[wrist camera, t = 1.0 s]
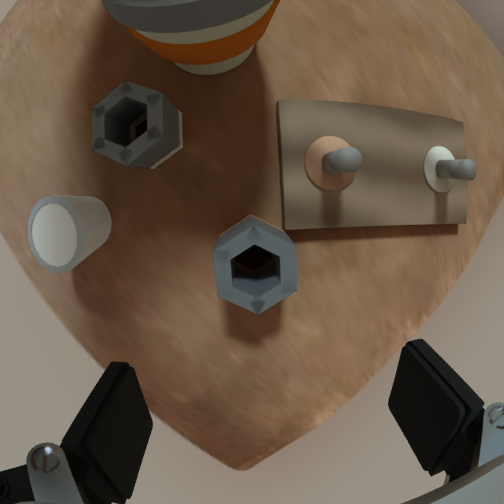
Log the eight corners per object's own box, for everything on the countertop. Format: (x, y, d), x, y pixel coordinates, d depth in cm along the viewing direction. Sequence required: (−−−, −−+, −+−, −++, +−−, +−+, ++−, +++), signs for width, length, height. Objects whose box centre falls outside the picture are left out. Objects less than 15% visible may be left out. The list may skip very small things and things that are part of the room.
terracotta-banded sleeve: (218, 215, 27) (210, 227, 20) (282, 212, 27) (295, 222, 20) (224, 285, 29) (219, 316, 22) (284, 281, 29) (296, 311, 22)
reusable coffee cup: (168, 110, 24) (99, 49, 10) (140, 21, 21) (84, -56, 7) (291, 70, 24) (334, -18, 9) (249, -14, 21) (254, -107, 6)
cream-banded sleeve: (124, 107, 24) (92, 89, 17) (181, 96, 24) (162, 72, 17) (126, 173, 26) (92, 172, 19) (184, 165, 26) (164, 160, 19)
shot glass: (57, 209, 26) (17, 218, 19) (100, 178, 26) (63, 179, 19) (82, 264, 28) (47, 285, 21) (127, 237, 27) (96, 254, 20)
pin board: (276, 103, 24) (286, 82, 18) (455, 123, 25) (491, 117, 19) (283, 227, 27) (294, 241, 21) (458, 221, 28) (494, 231, 21)
